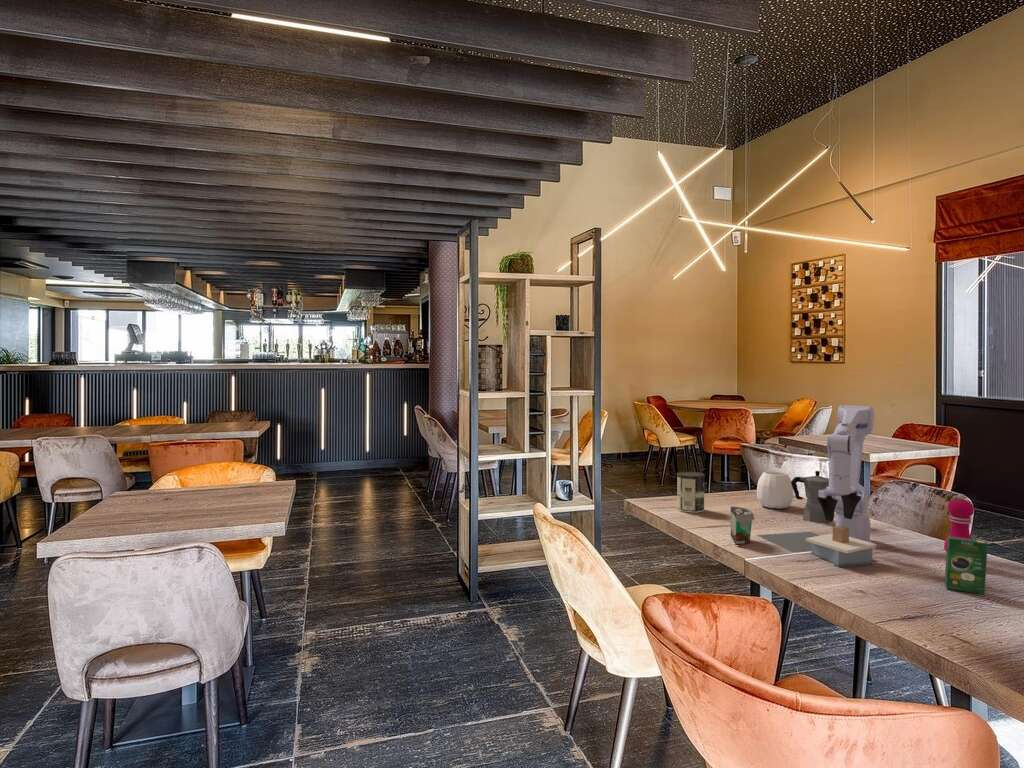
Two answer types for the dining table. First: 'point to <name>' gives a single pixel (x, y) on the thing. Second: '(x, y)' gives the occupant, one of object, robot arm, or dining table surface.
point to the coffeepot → (812, 496)
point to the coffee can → (690, 492)
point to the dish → (843, 556)
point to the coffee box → (966, 565)
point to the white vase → (775, 490)
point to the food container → (741, 525)
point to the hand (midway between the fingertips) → (838, 519)
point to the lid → (841, 541)
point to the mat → (791, 540)
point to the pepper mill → (960, 518)
